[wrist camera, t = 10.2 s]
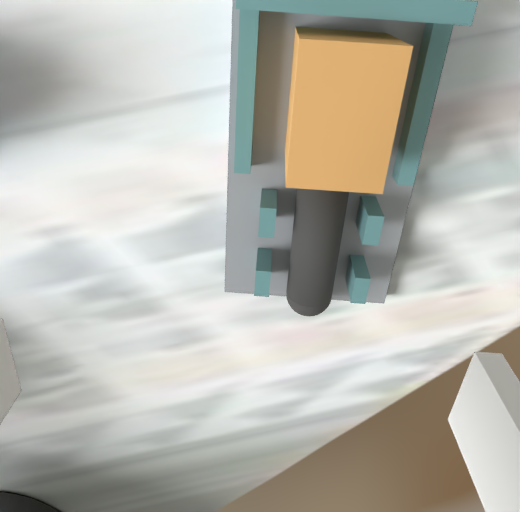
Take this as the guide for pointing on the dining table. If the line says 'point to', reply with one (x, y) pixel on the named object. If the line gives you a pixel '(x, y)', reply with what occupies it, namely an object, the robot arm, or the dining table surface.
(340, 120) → the orange cube-head hammer
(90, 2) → the dining table surface
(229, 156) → the teal block plate
